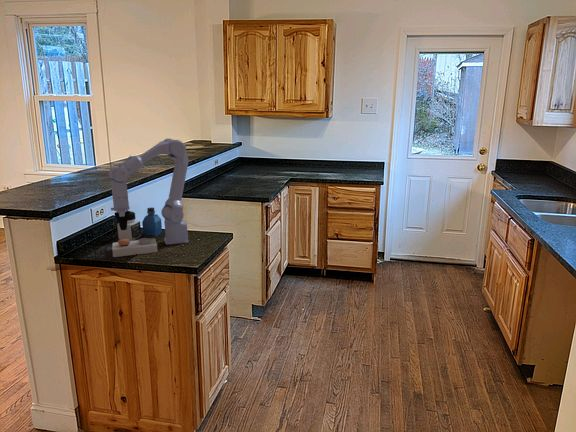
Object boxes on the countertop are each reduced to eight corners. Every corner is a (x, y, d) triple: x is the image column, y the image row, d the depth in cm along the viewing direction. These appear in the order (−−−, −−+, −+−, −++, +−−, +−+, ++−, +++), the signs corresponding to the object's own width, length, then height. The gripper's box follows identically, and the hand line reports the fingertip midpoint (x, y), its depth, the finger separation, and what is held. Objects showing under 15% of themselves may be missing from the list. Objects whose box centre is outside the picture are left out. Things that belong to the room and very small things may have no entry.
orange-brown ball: (130, 247, 189) (129, 238, 188) (130, 250, 185) (129, 241, 184) (118, 248, 188) (118, 239, 187) (118, 251, 184) (118, 242, 183)
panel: (155, 245, 195) (155, 238, 194) (157, 252, 187) (157, 245, 186) (113, 249, 190) (112, 242, 189) (113, 257, 181) (112, 249, 180)
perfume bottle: (155, 235, 208) (153, 210, 205) (143, 235, 210) (141, 209, 206) (162, 232, 214) (160, 207, 211) (149, 231, 215) (147, 206, 212)
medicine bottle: (132, 240, 202) (129, 214, 198) (118, 239, 203) (115, 213, 200) (141, 235, 208) (139, 210, 205) (128, 234, 210) (125, 209, 207)
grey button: (150, 246, 192) (149, 237, 191) (151, 249, 188) (150, 240, 187) (139, 247, 191) (138, 238, 190) (139, 250, 186) (139, 241, 186)
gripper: (109, 193, 187) (113, 225, 190) (109, 201, 173) (113, 235, 177) (128, 192, 189) (131, 224, 192) (128, 199, 176) (132, 233, 179)
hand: (123, 229), depth 185 cm, fingers closed
